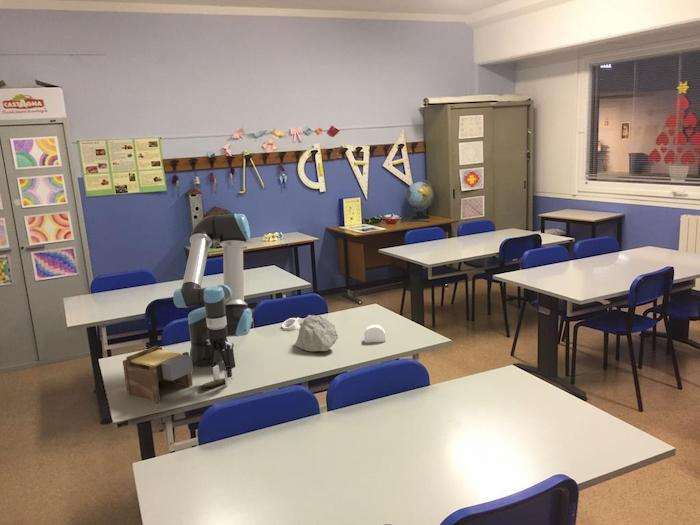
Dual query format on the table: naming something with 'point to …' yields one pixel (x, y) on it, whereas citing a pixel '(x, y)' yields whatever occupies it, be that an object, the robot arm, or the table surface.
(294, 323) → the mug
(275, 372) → the table surface
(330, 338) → the grey boulder
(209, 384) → the stone
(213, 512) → the table surface
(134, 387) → the wooden box
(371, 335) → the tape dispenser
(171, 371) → the trapdoor
